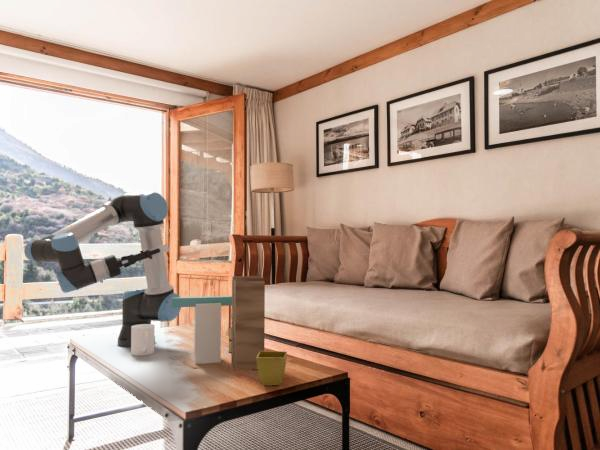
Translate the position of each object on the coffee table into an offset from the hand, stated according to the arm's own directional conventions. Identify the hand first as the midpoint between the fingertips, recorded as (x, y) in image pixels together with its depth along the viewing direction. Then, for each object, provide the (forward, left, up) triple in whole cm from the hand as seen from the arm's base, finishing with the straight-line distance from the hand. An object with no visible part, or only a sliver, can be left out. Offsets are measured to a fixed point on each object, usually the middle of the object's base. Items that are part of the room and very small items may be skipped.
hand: (165, 248), depth 174 cm
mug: (-11, -8, -41) cm, 44 cm away
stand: (+17, +28, -41) cm, 53 cm away
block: (+5, +15, -21) cm, 27 cm away
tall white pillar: (+5, +15, -41) cm, 44 cm away
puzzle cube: (-5, +31, -41) cm, 52 cm away
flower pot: (+39, +32, -41) cm, 65 cm away
